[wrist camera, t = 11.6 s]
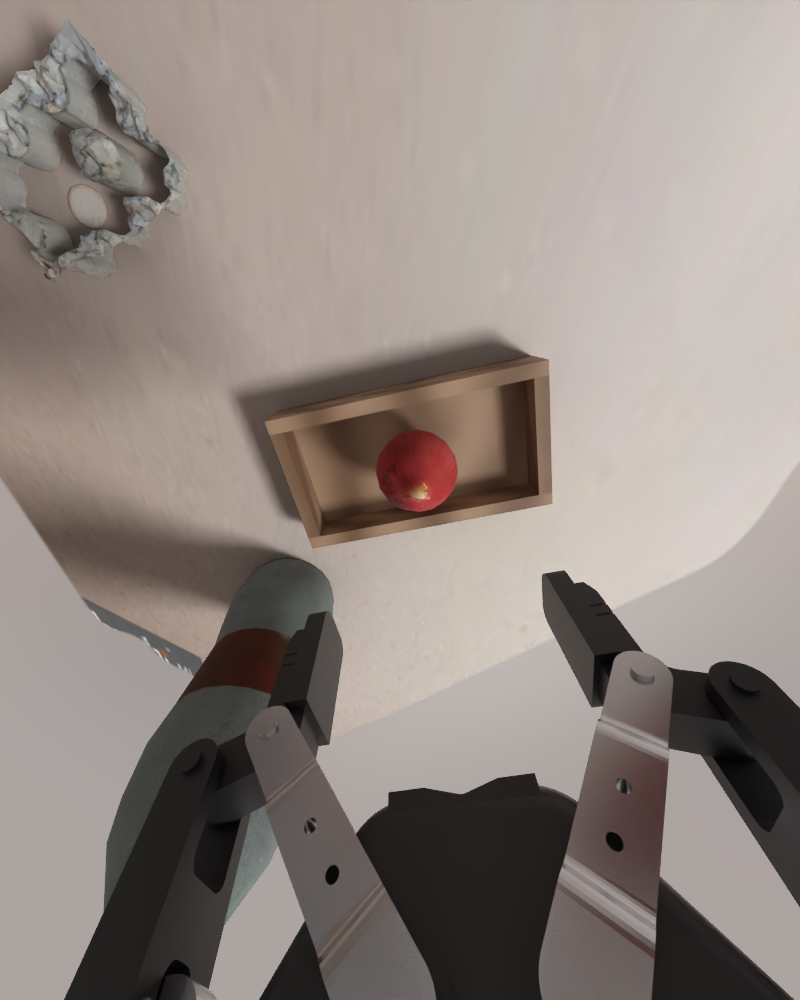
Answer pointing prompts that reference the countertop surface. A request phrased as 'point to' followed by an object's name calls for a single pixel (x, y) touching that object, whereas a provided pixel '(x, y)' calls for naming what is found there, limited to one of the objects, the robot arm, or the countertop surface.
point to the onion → (416, 470)
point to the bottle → (226, 706)
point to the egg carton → (78, 156)
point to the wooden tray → (428, 407)
